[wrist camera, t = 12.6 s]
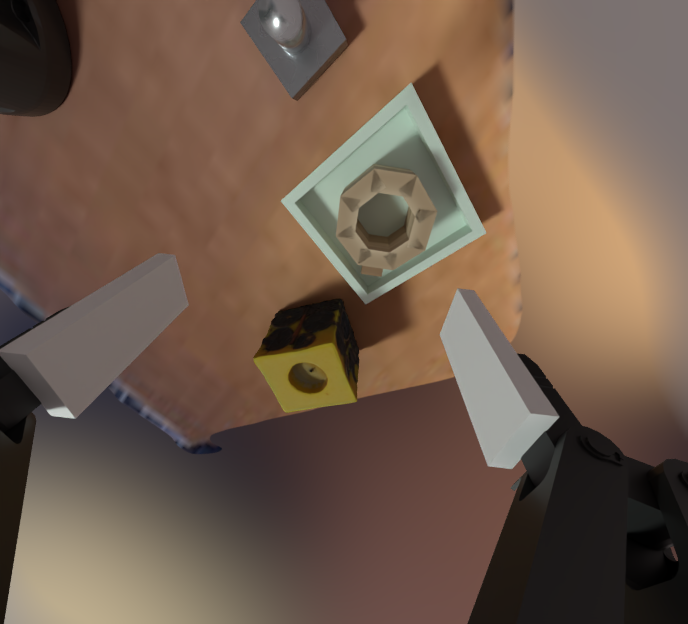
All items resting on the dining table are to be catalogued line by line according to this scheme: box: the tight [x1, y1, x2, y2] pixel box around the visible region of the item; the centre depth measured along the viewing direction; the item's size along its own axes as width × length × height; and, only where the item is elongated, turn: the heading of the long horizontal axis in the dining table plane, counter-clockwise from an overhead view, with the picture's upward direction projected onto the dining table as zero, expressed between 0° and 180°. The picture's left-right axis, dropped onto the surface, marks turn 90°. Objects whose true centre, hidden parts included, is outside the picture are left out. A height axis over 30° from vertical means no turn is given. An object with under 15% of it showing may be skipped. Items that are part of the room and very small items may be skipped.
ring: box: [336, 164, 437, 277], centre depth 28 cm, size 11×9×5 cm
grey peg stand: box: [240, 0, 348, 101], centre depth 21 cm, size 6×6×6 cm
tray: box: [281, 83, 486, 304], centre depth 29 cm, size 15×15×3 cm
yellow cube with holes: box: [253, 299, 359, 413], centre depth 36 cm, size 10×10×10 cm
